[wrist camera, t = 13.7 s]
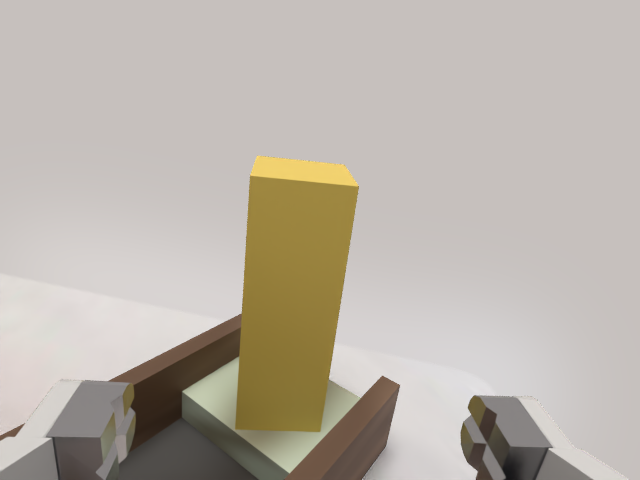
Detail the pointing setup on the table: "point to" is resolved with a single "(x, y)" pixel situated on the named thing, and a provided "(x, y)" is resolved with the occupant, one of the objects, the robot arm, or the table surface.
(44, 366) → the table surface
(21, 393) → the table surface
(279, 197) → the mustard block
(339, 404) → the board
